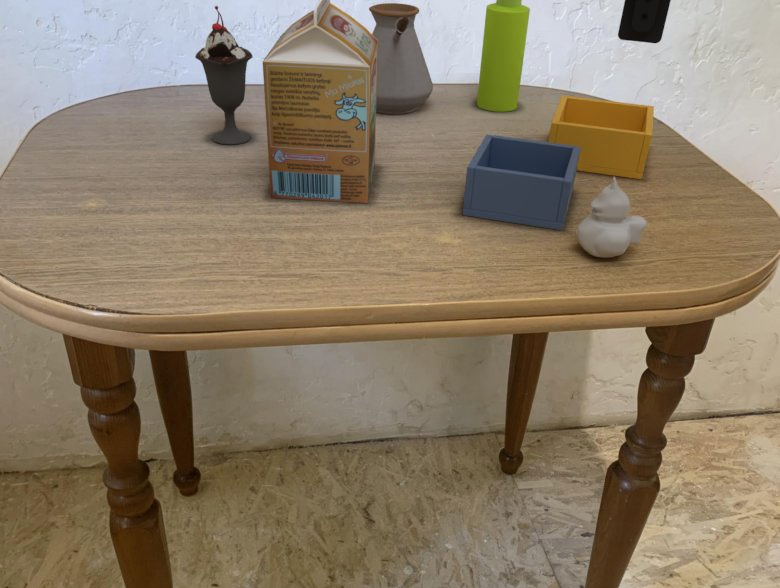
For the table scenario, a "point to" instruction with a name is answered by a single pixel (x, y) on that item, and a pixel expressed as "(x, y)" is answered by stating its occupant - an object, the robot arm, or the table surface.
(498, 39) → the soap dispenser
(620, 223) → the grey rounded piece
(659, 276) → the table surface
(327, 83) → the milk carton
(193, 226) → the table surface
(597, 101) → the mustard bin
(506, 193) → the slate bin
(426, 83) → the coffee pot
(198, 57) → the sundae
